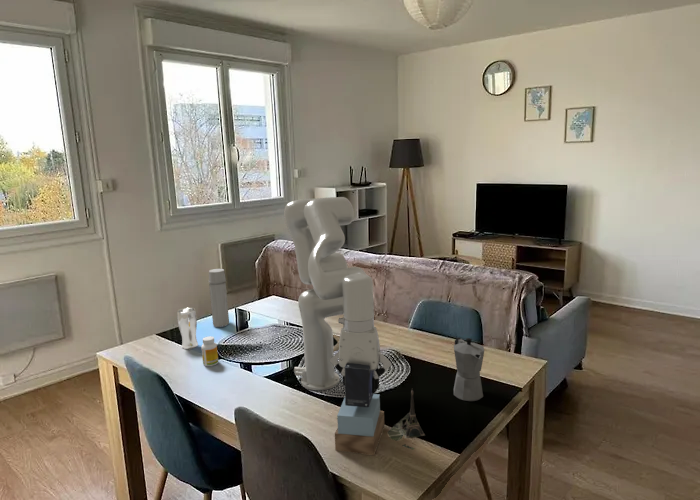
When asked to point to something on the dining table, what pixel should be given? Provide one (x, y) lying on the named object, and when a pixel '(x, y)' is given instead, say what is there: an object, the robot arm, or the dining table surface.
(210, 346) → the supplement bottle
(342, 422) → the slate-blue block
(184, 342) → the beer glass
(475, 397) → the coffeepot
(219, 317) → the water bottle
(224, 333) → the dining table surface
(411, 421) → the eiffel tower figurine
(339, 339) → the jawbone
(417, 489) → the dining table surface
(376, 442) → the walnut slab
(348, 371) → the small box
